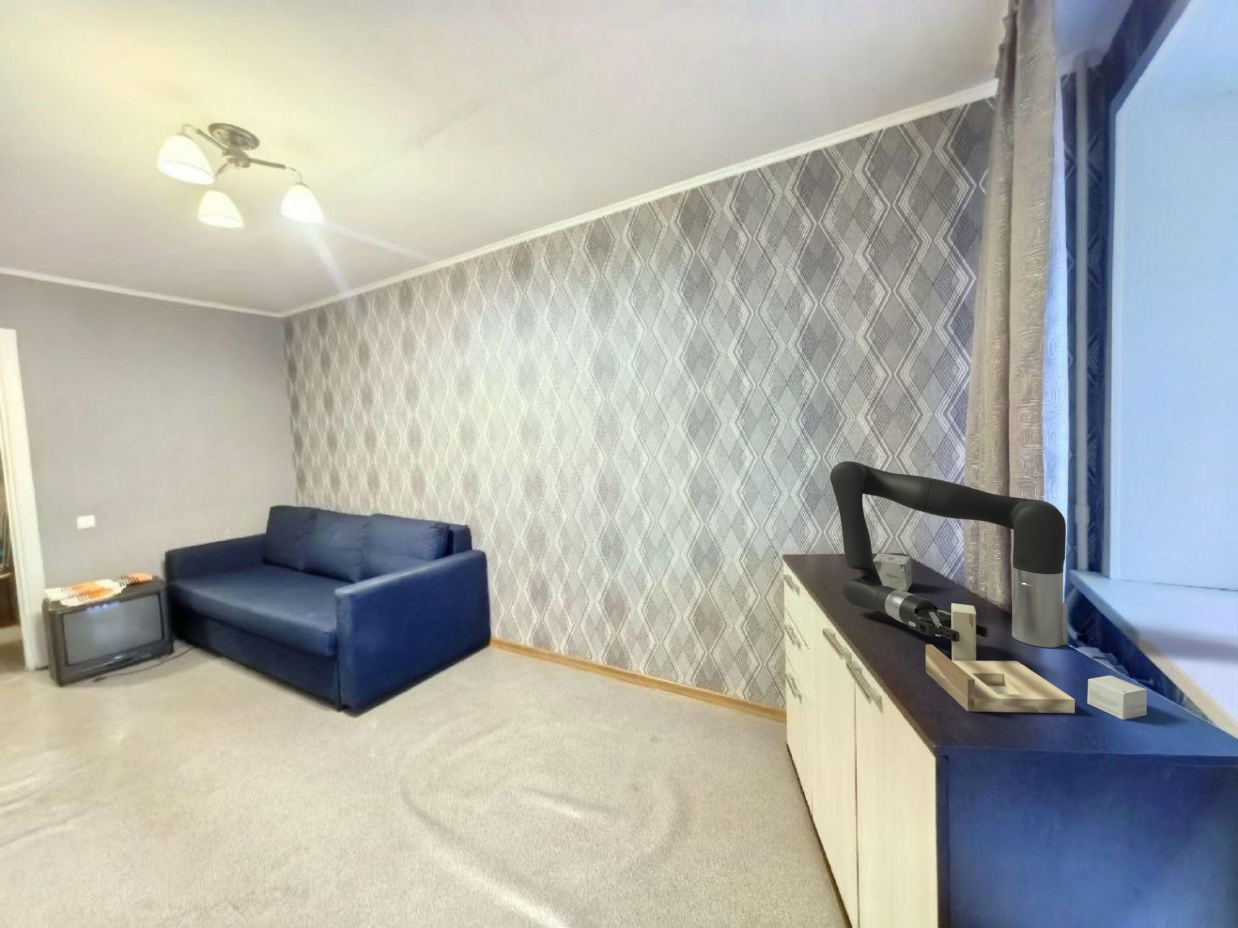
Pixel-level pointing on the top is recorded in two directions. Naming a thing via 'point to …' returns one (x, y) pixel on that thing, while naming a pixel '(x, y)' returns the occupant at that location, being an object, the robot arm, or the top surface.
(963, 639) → the skincare box
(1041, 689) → the rack
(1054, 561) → the robot arm
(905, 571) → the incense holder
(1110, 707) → the small box
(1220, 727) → the top surface
